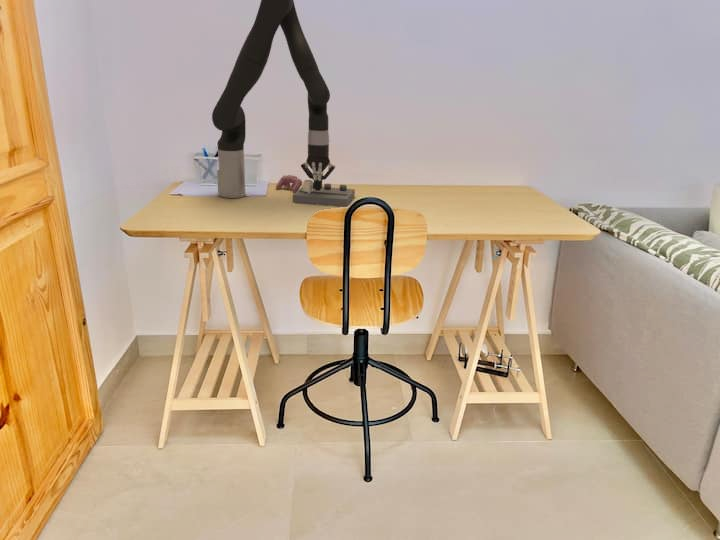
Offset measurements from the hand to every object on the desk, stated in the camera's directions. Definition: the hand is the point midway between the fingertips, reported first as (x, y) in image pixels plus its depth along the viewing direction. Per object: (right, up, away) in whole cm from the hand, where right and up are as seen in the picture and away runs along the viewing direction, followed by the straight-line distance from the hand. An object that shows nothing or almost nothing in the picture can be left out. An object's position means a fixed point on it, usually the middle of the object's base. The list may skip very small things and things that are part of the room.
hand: (317, 190), depth 204 cm
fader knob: (-4, 0, +1) cm, 4 cm away
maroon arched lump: (-12, +2, +14) cm, 19 cm away
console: (+2, -3, +3) cm, 5 cm away
